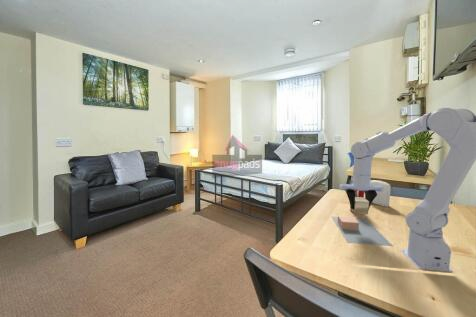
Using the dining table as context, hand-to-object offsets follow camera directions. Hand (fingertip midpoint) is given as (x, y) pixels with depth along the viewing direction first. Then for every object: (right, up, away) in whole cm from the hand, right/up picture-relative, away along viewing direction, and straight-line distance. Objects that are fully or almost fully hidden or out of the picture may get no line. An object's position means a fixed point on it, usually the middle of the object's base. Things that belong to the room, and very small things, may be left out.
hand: (359, 208), depth 80 cm
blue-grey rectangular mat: (0, -9, +1) cm, 9 cm away
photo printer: (+27, -5, +30) cm, 40 cm away
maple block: (0, -1, 0) cm, 1 cm away
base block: (-3, -8, +4) cm, 9 cm away
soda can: (+9, -6, +19) cm, 22 cm away
